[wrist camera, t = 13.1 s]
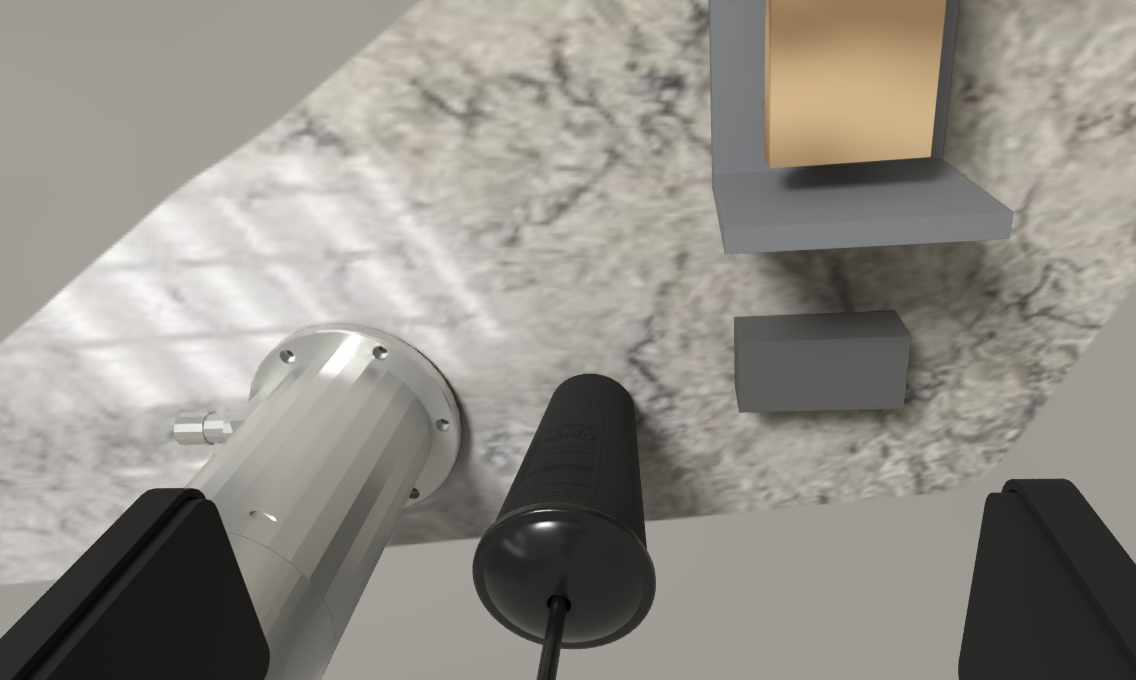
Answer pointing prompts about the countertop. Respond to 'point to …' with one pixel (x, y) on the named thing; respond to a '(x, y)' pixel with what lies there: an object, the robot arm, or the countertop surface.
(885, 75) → the shelf board
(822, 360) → the block
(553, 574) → the drinking cup
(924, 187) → the cabinet stand
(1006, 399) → the countertop surface
